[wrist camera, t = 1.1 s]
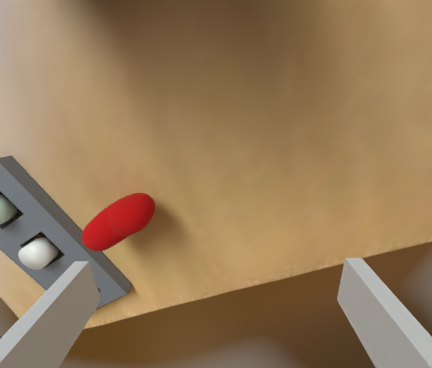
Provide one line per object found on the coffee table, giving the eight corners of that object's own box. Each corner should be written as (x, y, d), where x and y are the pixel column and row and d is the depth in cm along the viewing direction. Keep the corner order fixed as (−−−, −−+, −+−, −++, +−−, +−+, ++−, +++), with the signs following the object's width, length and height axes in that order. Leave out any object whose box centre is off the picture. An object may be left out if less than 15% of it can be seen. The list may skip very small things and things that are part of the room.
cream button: (27, 244, 40) (12, 254, 37) (44, 233, 39) (30, 242, 36) (46, 262, 41) (33, 273, 38) (63, 251, 40) (51, 262, 37)
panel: (-38, 194, 39) (-55, 200, 36) (11, 155, 36) (-4, 159, 33) (84, 307, 47) (77, 318, 45) (132, 283, 44) (126, 293, 42)
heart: (122, 228, 40) (90, 266, 30) (103, 206, 38) (63, 238, 29) (172, 199, 37) (154, 230, 28) (153, 173, 36) (128, 197, 26)
